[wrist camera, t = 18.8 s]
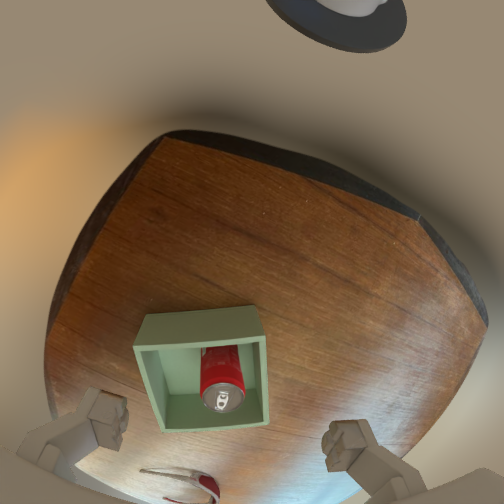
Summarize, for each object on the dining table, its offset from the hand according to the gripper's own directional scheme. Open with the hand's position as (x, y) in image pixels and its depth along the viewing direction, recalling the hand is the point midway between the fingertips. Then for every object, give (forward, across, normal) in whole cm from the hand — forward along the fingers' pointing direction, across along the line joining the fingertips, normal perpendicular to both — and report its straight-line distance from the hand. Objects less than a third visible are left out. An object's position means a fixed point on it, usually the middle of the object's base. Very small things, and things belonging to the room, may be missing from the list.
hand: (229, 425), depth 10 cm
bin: (+28, +1, +19) cm, 34 cm away
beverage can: (+28, 0, +16) cm, 32 cm away
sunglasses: (+26, +3, +59) cm, 65 cm away
